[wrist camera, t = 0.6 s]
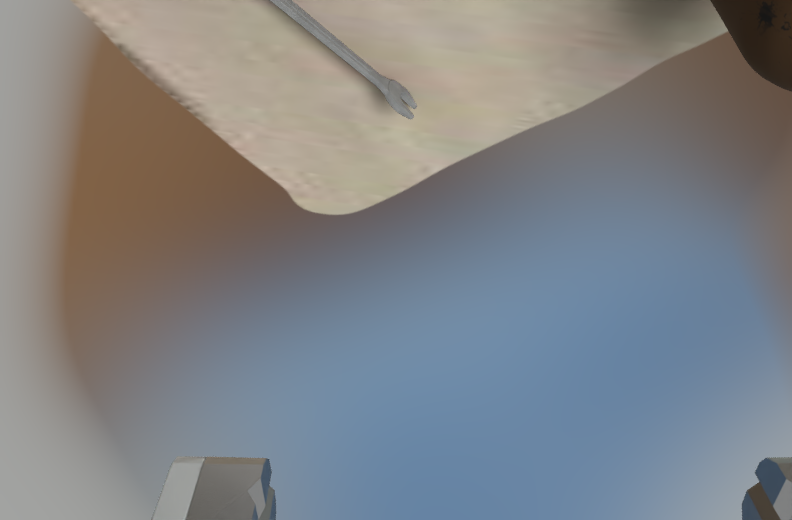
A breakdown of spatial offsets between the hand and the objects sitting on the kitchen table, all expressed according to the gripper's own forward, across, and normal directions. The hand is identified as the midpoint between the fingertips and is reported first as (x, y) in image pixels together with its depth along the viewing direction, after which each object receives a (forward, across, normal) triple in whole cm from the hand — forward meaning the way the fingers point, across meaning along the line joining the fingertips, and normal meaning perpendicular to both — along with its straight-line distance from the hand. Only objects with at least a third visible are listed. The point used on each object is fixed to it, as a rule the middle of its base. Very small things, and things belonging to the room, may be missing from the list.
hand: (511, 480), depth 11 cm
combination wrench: (+51, +8, +6) cm, 52 cm away
